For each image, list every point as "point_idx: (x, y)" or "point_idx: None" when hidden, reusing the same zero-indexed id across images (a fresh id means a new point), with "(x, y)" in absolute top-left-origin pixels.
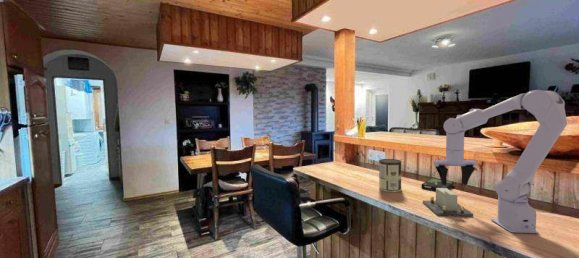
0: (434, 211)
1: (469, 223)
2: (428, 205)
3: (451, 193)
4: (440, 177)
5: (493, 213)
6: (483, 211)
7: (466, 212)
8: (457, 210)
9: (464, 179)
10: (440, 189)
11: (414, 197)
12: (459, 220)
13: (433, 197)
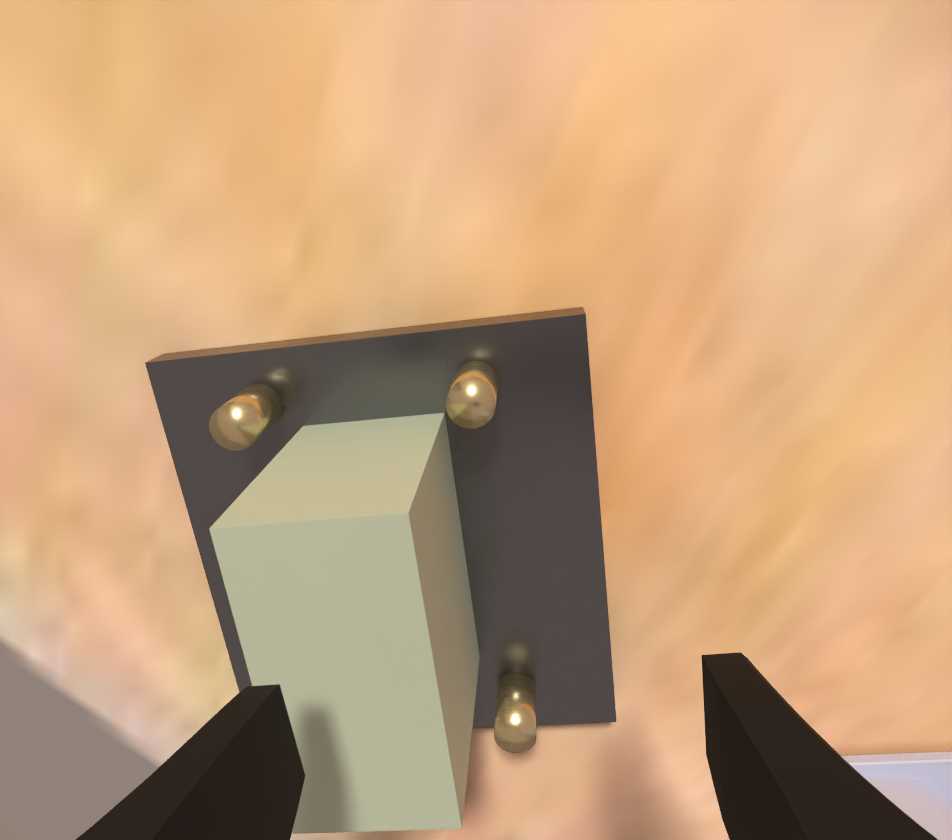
0: (239, 669)
1: (499, 831)
2: (195, 534)
3: (392, 781)
4: (147, 797)
5: (905, 590)
6: (825, 545)
7: (560, 695)
8: (486, 651)
9: (744, 829)
10: (272, 604)
11: (64, 106)
12: None
13: (248, 442)
